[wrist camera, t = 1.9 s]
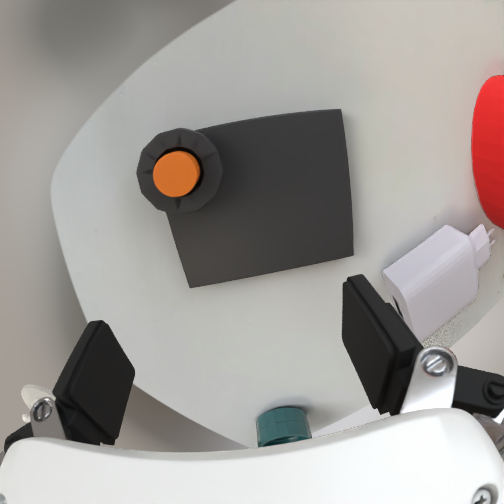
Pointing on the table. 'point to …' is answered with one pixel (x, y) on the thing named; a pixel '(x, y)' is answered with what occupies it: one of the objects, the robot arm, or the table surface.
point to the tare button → (176, 173)
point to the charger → (438, 278)
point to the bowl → (282, 427)
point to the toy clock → (489, 149)
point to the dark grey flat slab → (257, 195)
